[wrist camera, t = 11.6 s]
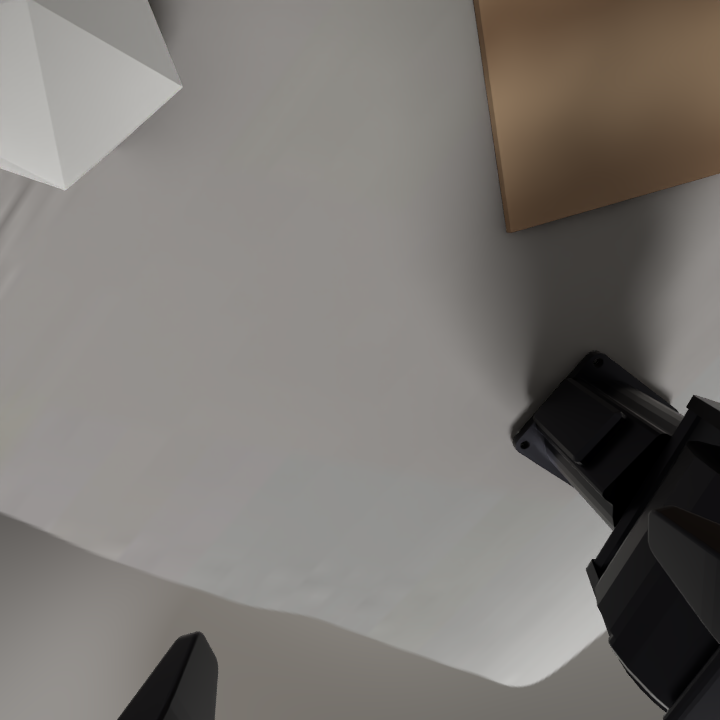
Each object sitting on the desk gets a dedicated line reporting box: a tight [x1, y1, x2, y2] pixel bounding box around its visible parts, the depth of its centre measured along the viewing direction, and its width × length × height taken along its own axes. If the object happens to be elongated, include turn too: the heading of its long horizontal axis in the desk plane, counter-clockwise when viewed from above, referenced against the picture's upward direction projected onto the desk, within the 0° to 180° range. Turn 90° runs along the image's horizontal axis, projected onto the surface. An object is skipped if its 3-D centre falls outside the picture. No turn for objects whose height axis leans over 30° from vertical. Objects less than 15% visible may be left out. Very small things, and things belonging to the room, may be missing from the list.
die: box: [0, 0, 183, 191], centre depth 12 cm, size 8×9×10 cm
